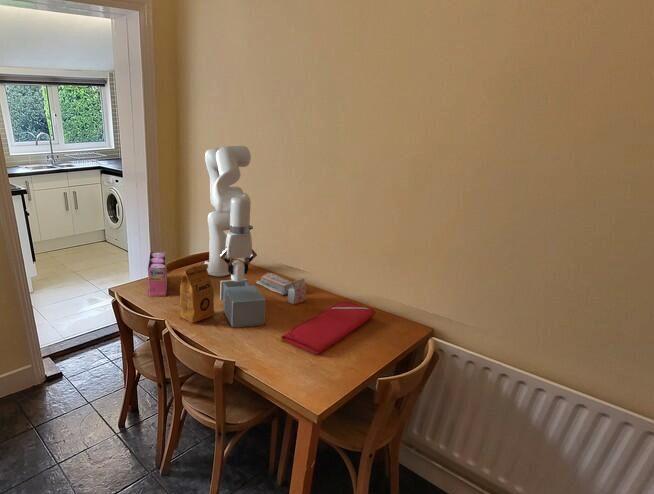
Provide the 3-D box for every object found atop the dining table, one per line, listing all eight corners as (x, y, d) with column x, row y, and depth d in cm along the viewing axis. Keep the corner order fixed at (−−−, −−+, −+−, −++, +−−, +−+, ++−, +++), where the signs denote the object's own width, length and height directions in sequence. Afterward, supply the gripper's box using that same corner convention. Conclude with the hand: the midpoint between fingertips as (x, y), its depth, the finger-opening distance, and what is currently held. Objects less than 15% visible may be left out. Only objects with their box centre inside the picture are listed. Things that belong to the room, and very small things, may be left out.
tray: (217, 294, 182) (217, 276, 179) (242, 292, 184) (243, 274, 180) (227, 313, 166) (227, 293, 162) (254, 310, 167) (255, 291, 163)
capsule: (228, 278, 168) (228, 260, 165) (238, 275, 171) (239, 257, 168) (236, 282, 164) (237, 263, 161) (246, 279, 167) (247, 261, 164)
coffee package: (217, 317, 164) (218, 265, 154) (192, 326, 157) (191, 272, 148) (202, 309, 171) (202, 259, 162) (177, 317, 165) (176, 265, 155)
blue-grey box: (223, 311, 169) (224, 287, 165) (253, 308, 171) (254, 285, 166) (232, 327, 156) (233, 302, 152) (264, 324, 158) (265, 299, 153)
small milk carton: (287, 301, 177) (289, 280, 173) (298, 298, 180) (300, 276, 176) (293, 304, 174) (295, 282, 170) (304, 300, 177) (307, 279, 173)
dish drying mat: (279, 339, 148) (280, 330, 146) (339, 306, 172) (340, 298, 171) (318, 356, 137) (319, 347, 135) (375, 318, 162) (377, 310, 160)
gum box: (151, 277, 205) (150, 251, 200) (167, 276, 206) (166, 250, 200) (149, 296, 184) (147, 267, 178) (166, 296, 184) (165, 267, 178)
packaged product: (299, 281, 185) (283, 286, 180) (298, 291, 187) (282, 296, 182) (271, 270, 199) (256, 274, 194) (270, 279, 201) (255, 283, 196)
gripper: (257, 225, 163) (255, 268, 171) (215, 228, 161) (215, 271, 169) (263, 230, 157) (260, 275, 164) (220, 233, 154) (219, 277, 162)
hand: (237, 272), depth 167 cm, fingers closed on capsule, 5 cm apart
